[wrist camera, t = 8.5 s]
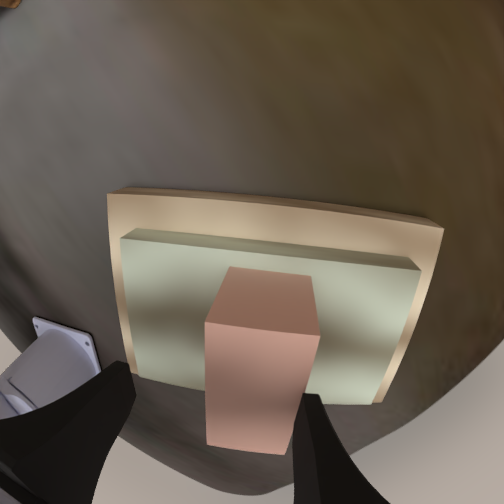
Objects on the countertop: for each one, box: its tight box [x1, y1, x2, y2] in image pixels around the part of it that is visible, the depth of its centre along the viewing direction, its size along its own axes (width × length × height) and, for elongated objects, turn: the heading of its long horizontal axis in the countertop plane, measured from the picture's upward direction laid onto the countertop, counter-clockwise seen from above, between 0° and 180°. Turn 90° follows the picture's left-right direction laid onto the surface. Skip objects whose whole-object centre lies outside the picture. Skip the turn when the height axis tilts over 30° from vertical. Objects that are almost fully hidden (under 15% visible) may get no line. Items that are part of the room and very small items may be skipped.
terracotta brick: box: [205, 266, 320, 455], centre depth 14 cm, size 8×4×5 cm, turn 175°
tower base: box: [107, 187, 444, 404], centre depth 18 cm, size 14×20×4 cm
